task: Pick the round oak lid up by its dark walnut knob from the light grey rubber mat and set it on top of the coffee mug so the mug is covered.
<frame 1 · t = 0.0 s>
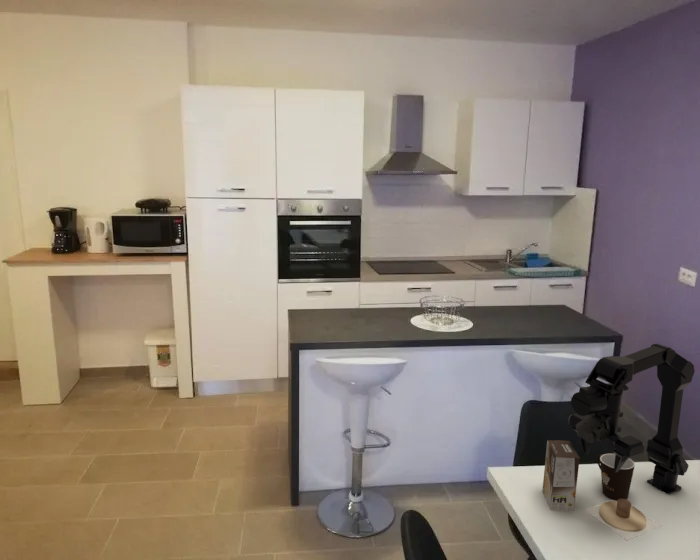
hand: (600, 462, 140), 15 cm above the table, tool pointing down, fingers open, 9 cm apart
coffee box: (557, 502, 148), on the table
lid: (622, 517, 141), resting on mat
coffee mug: (613, 491, 152), on the table, touching mat
mat: (621, 518, 141), on the table
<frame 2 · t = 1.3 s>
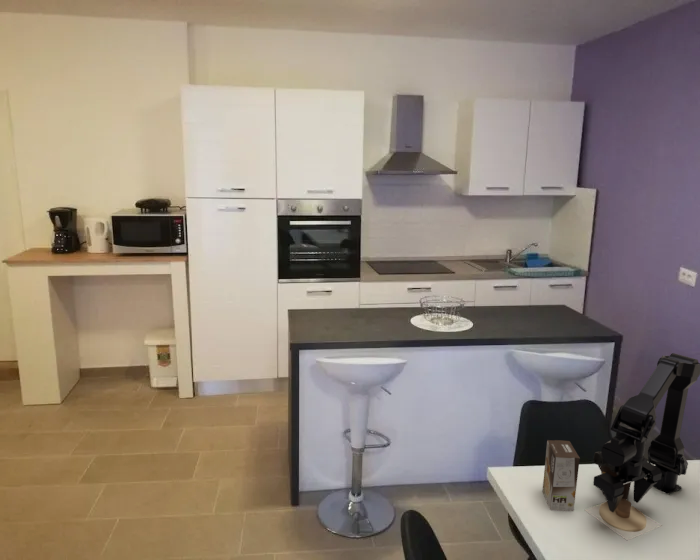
hand: (623, 506, 140), 4 cm above the table, tool pointing down, fingers open, 9 cm apart
coffee mug: (613, 492, 152), on the table, touching mat
everything else where it was.
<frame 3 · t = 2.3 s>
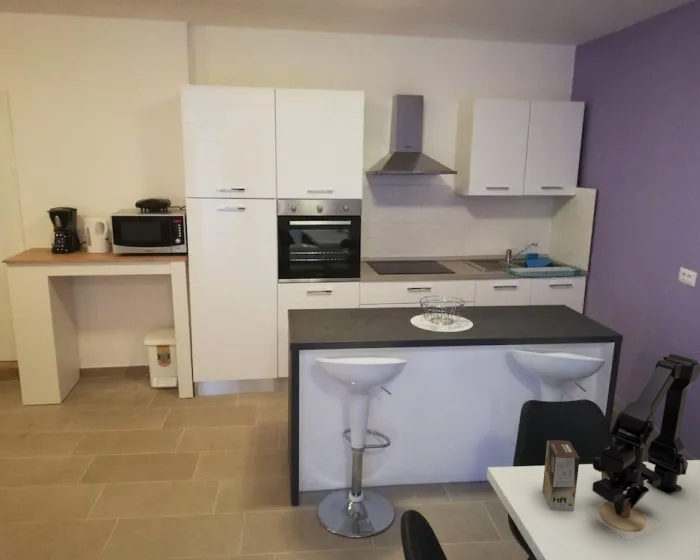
hand: (622, 512, 141), 2 cm above the table, tool pointing down, fingers closed on lid, 3 cm apart
lid: (622, 517, 141), resting on mat, touching gripper
everything else where it was.
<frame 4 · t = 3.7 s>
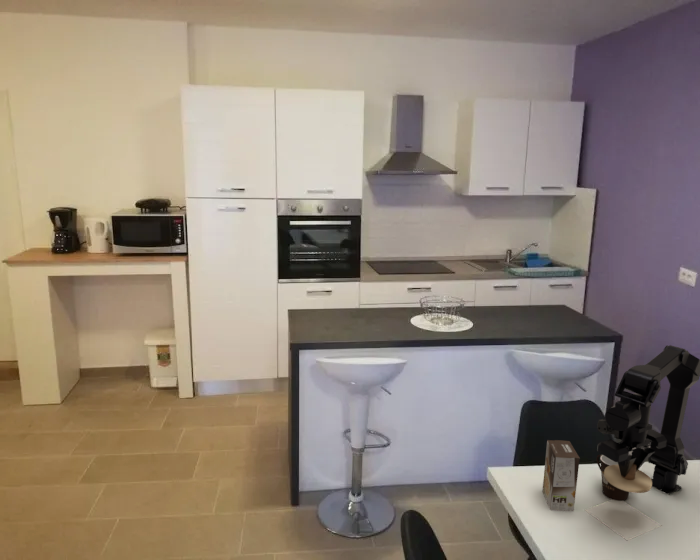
hand: (628, 474, 138), 13 cm above the table, tool pointing down, fingers closed on lid, 3 cm apart
lid: (627, 480, 139), point 11 cm above the table, touching gripper
everything else where it was.
when the fingers open (12 cm above the table, at t = 5.0 s): lid stays where it is, resting on coffee mug.
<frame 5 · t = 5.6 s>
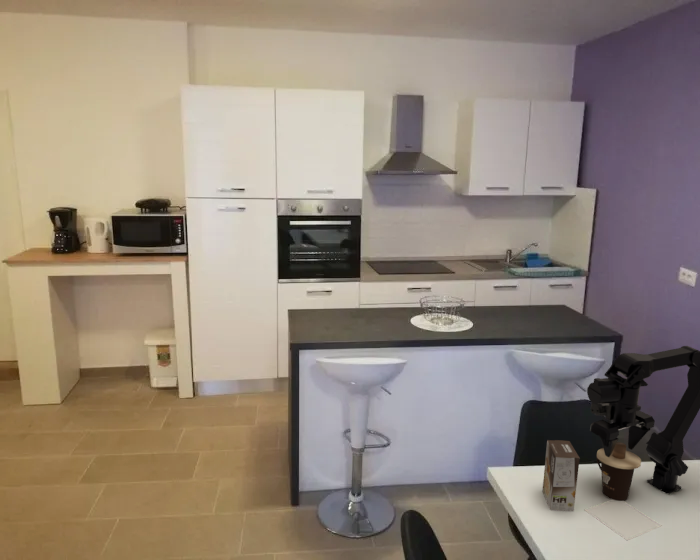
hand: (619, 452, 150), 12 cm above the table, tool pointing down, fingers open, 9 cm apart
lid: (618, 459, 150), point 10 cm above the table, tilted 5°, touching coffee mug
coffee mug: (613, 492, 152), on the table, touching lid, mat
everything else where it was.
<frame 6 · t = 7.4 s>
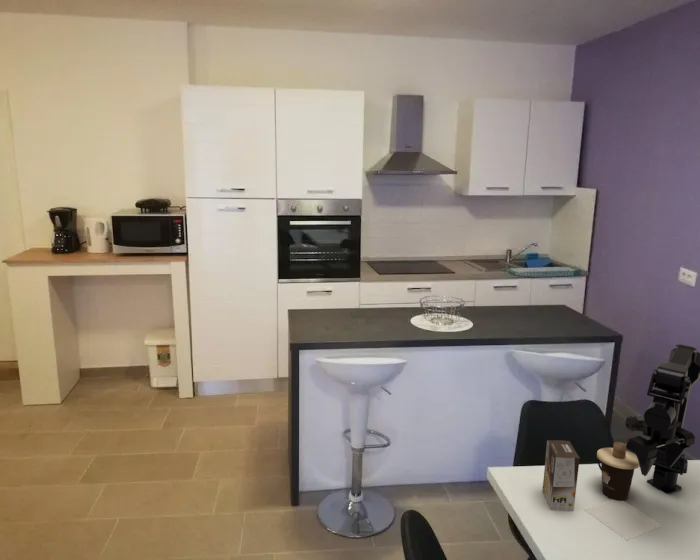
hand: (656, 471, 140), 13 cm above the table, tool pointing down, fingers open, 9 cm apart
nothing on the table moved.
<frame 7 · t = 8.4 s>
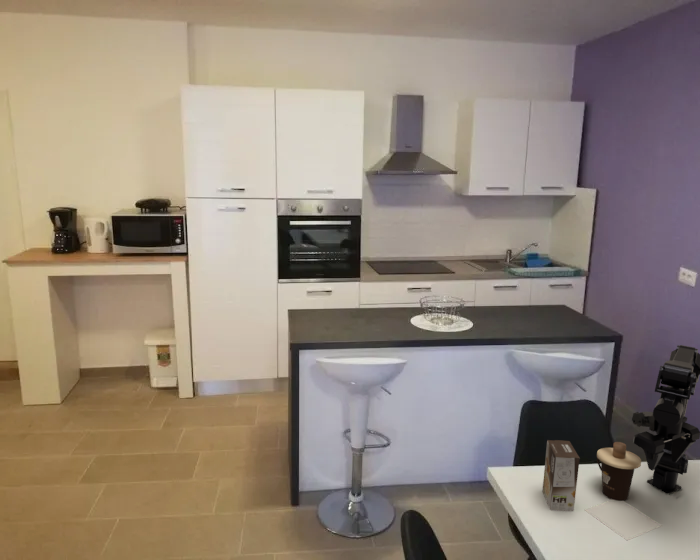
hand: (662, 465, 142), 13 cm above the table, tool pointing down, fingers open, 9 cm apart
nothing on the table moved.
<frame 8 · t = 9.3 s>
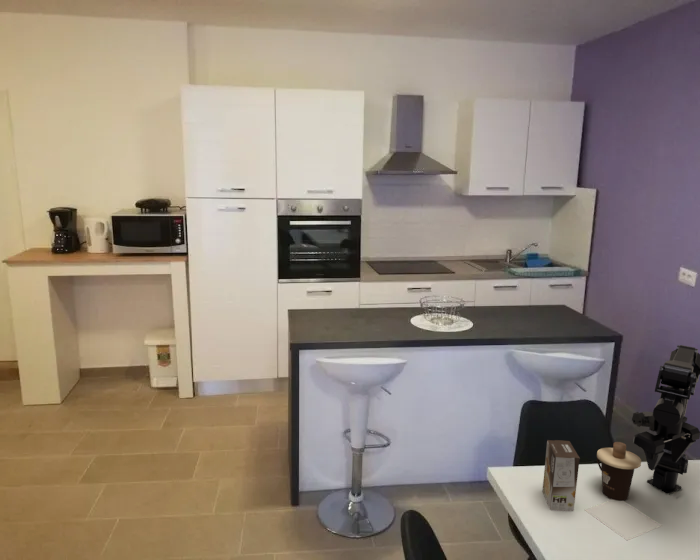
hand: (662, 465, 142), 13 cm above the table, tool pointing down, fingers open, 9 cm apart
nothing on the table moved.
at the end: lid 0.2 cm from the coffee mug (horizontally); lid point 10.2 cm above the table; lid tilted 5° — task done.
